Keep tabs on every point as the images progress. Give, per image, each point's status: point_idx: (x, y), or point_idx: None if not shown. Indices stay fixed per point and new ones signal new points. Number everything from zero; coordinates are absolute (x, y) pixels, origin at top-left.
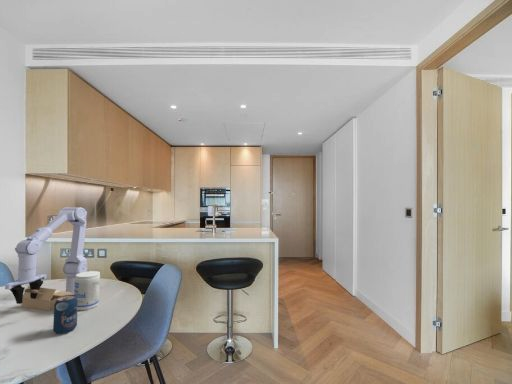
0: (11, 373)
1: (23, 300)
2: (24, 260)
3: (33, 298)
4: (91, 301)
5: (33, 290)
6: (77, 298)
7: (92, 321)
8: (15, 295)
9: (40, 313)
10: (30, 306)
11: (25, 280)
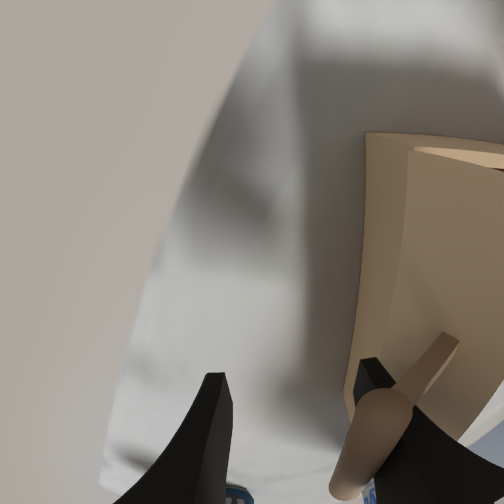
0: (106, 487)
1: (396, 164)
2: None
3: (354, 389)
4: None
5: (341, 491)
6: (363, 496)
7: (292, 494)
8: (180, 454)
9: (299, 388)
10: (367, 251)
11: None
